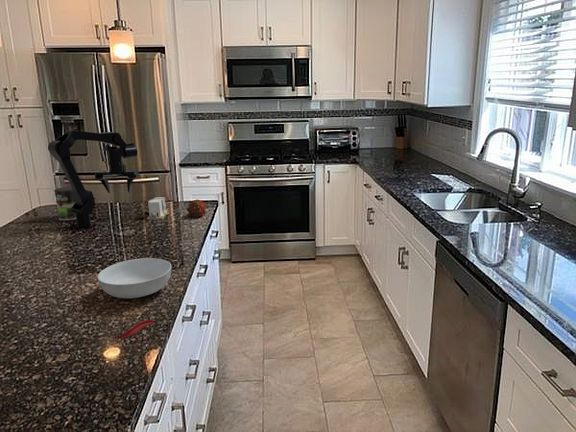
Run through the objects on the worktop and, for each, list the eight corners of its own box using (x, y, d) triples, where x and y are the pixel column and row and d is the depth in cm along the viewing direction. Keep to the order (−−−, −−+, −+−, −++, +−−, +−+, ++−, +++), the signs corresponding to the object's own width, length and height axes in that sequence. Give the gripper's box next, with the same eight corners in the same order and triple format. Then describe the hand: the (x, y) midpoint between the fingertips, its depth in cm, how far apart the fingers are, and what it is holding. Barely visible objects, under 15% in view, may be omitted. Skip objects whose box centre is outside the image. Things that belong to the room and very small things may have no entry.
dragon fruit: (198, 222, 216) (194, 220, 227) (212, 210, 217) (207, 208, 229) (186, 209, 213) (182, 207, 224) (200, 196, 215) (195, 195, 226)
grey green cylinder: (71, 221, 219) (67, 191, 215) (53, 219, 222) (49, 190, 218) (86, 215, 228) (82, 187, 225) (69, 214, 231) (65, 186, 227)
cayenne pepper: (115, 343, 113) (114, 335, 112) (110, 335, 116) (109, 328, 116) (163, 327, 119) (162, 320, 119) (156, 320, 123) (156, 314, 123)
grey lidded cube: (160, 216, 218) (159, 202, 216) (149, 217, 218) (148, 202, 216) (162, 213, 224) (161, 198, 222) (152, 213, 224) (150, 199, 222)
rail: (162, 219, 217) (160, 204, 215) (147, 220, 216) (145, 205, 214) (168, 210, 232) (166, 197, 230) (153, 211, 232) (152, 197, 230)
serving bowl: (147, 272, 155) (144, 253, 153) (187, 288, 142) (185, 266, 140) (86, 294, 139) (83, 273, 137) (126, 314, 126) (123, 290, 124)
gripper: (140, 156, 225) (143, 188, 229) (100, 157, 224) (104, 189, 228) (134, 160, 214) (137, 193, 218) (92, 161, 213) (96, 194, 217)
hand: (119, 192), depth 220 cm, fingers open, 9 cm apart
